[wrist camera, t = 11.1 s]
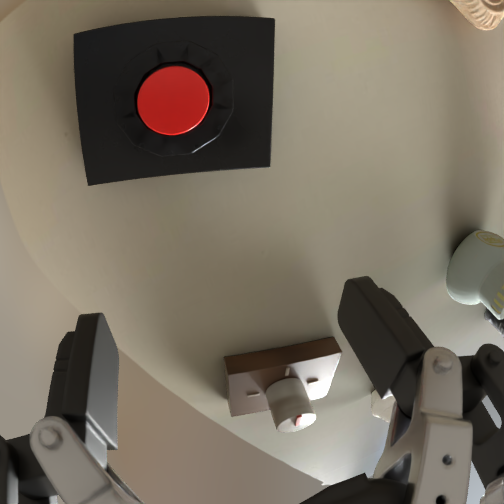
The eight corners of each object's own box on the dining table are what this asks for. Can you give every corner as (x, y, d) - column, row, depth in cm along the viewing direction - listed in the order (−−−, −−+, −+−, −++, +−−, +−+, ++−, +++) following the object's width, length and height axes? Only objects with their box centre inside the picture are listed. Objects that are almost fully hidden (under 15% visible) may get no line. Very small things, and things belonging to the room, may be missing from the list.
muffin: (390, 391, 50) (406, 420, 45) (361, 404, 50) (377, 434, 44) (397, 374, 47) (416, 405, 41) (367, 387, 46) (384, 420, 40)
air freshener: (495, 228, 33) (544, 268, 25) (473, 277, 38) (515, 320, 29) (452, 225, 30) (512, 275, 22) (428, 283, 35) (475, 337, 27)
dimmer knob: (300, 393, 36) (314, 428, 32) (264, 402, 36) (276, 438, 31) (304, 373, 34) (320, 411, 29) (265, 382, 33) (278, 422, 29)
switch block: (95, 175, 20) (80, 197, 16) (83, 37, 14) (63, 30, 11) (262, 158, 22) (278, 176, 19) (265, 22, 17) (285, 13, 13)
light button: (142, 132, 16) (139, 139, 14) (139, 70, 14) (135, 70, 12) (207, 126, 16) (210, 132, 15) (206, 64, 14) (209, 63, 13)
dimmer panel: (227, 401, 38) (231, 418, 36) (223, 356, 33) (228, 376, 31) (319, 382, 41) (326, 397, 39) (333, 336, 35) (343, 352, 33)
